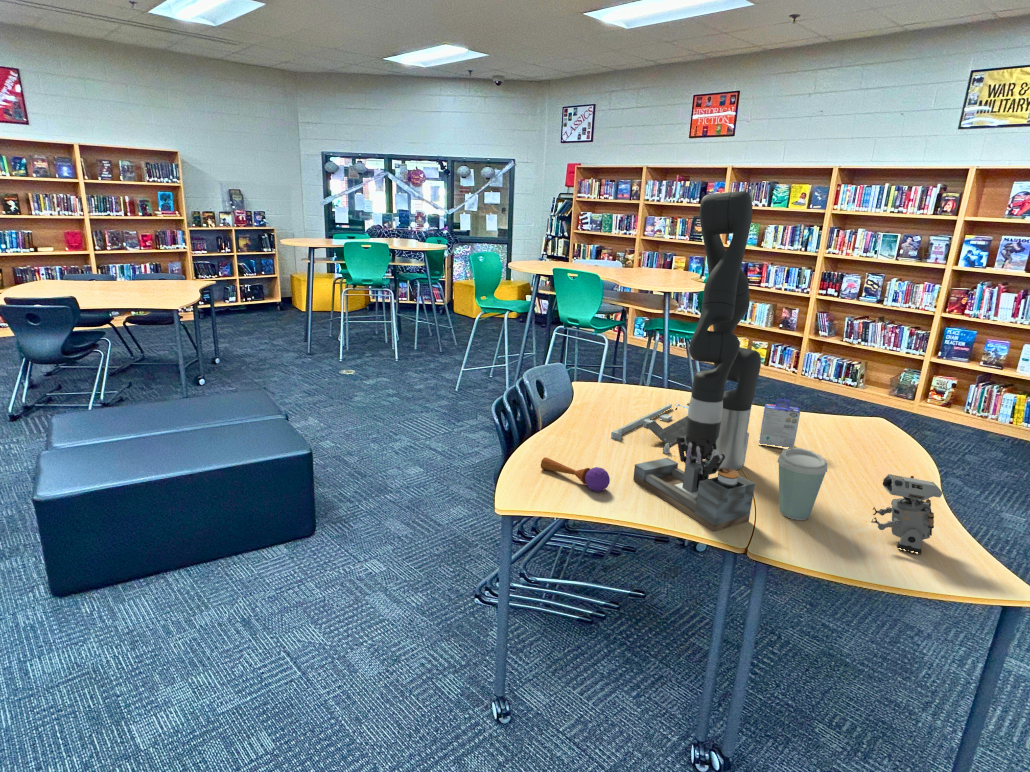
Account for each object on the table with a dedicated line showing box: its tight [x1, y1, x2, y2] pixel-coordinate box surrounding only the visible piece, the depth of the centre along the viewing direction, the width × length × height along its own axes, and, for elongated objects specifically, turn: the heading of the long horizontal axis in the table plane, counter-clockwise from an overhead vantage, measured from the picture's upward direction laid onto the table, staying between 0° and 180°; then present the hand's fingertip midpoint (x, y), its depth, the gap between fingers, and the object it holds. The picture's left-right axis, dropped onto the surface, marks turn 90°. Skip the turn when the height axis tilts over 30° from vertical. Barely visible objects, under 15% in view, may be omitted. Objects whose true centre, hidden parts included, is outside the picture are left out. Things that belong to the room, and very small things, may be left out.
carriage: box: [674, 462, 710, 501], centre depth 146 cm, size 6×7×8 cm
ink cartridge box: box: [758, 397, 801, 448], centre depth 185 cm, size 10×6×14 cm, turn 70°
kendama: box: [540, 456, 611, 493], centre depth 157 cm, size 6×6×20 cm
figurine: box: [870, 473, 943, 554], centre depth 132 cm, size 9×12×15 cm
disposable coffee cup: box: [776, 447, 828, 521], centre depth 142 cm, size 11×11×15 cm
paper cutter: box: [610, 402, 690, 455], centre depth 198 cm, size 18×45×6 cm, turn 140°
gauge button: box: [717, 468, 740, 489], centre depth 137 cm, size 4×4×4 cm
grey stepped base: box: [632, 457, 756, 532], centre depth 148 cm, size 11×28×10 cm, turn 28°
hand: (695, 484), depth 147 cm, fingers closed on carriage, 3 cm apart
